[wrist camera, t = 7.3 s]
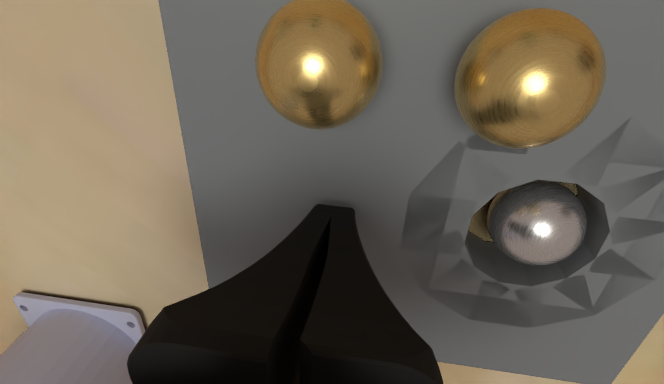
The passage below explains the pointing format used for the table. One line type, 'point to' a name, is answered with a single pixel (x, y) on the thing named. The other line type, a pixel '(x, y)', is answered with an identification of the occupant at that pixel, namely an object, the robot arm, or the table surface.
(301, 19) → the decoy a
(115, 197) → the table surface
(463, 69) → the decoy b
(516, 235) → the ball
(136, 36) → the table surface
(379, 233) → the plate
